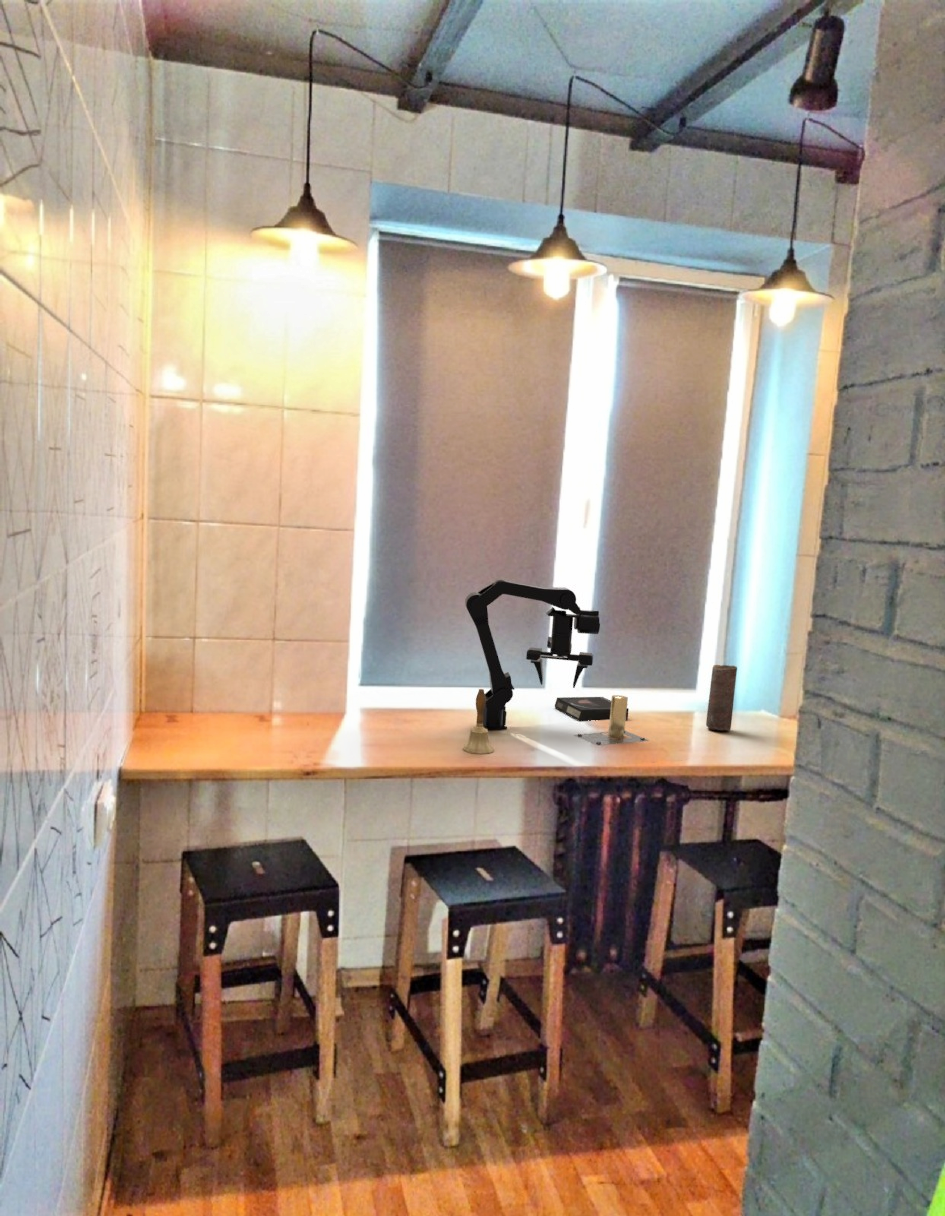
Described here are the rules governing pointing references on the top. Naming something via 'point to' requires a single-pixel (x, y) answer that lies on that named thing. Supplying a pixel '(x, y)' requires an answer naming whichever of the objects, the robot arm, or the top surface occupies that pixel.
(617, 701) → the disc
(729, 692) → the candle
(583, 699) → the portable cd player
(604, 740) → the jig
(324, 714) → the top surface
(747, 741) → the top surface
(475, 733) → the hand bell
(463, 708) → the top surface
